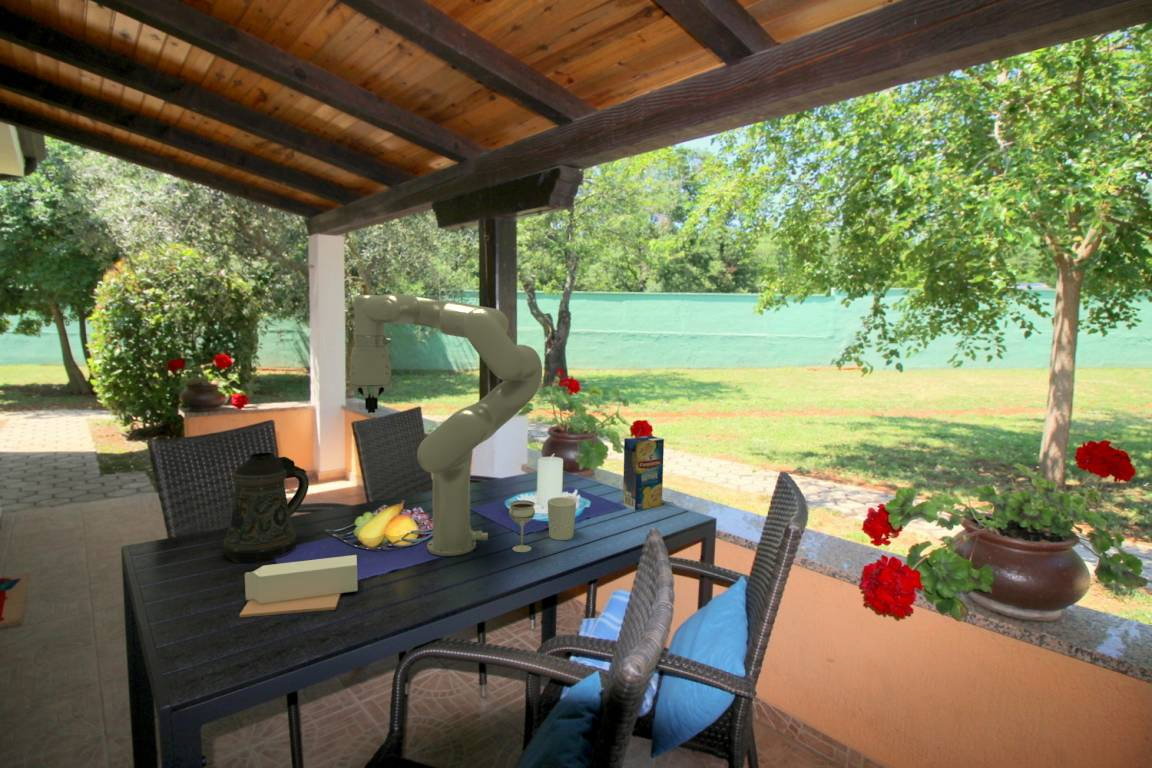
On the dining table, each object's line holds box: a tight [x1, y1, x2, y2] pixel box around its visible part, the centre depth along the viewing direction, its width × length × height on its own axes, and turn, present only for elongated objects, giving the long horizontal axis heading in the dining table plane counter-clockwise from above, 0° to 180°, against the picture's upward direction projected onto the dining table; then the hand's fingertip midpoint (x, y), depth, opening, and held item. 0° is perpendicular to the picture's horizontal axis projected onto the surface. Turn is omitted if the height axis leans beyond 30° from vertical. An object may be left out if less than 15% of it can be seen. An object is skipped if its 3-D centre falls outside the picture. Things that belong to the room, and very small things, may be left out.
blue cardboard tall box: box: [622, 435, 665, 511], centre depth 196 cm, size 7×11×22 cm, turn 122°
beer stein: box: [223, 452, 310, 563], centre depth 155 cm, size 16×19×25 cm
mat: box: [238, 593, 342, 618], centre depth 132 cm, size 18×20×1 cm
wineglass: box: [508, 499, 536, 553], centre depth 158 cm, size 7×7×12 cm
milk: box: [244, 554, 359, 604], centre depth 130 cm, size 6×6×22 cm
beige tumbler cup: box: [547, 496, 577, 541], centre depth 167 cm, size 8×8×10 cm
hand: (371, 412), depth 159 cm, fingers closed
